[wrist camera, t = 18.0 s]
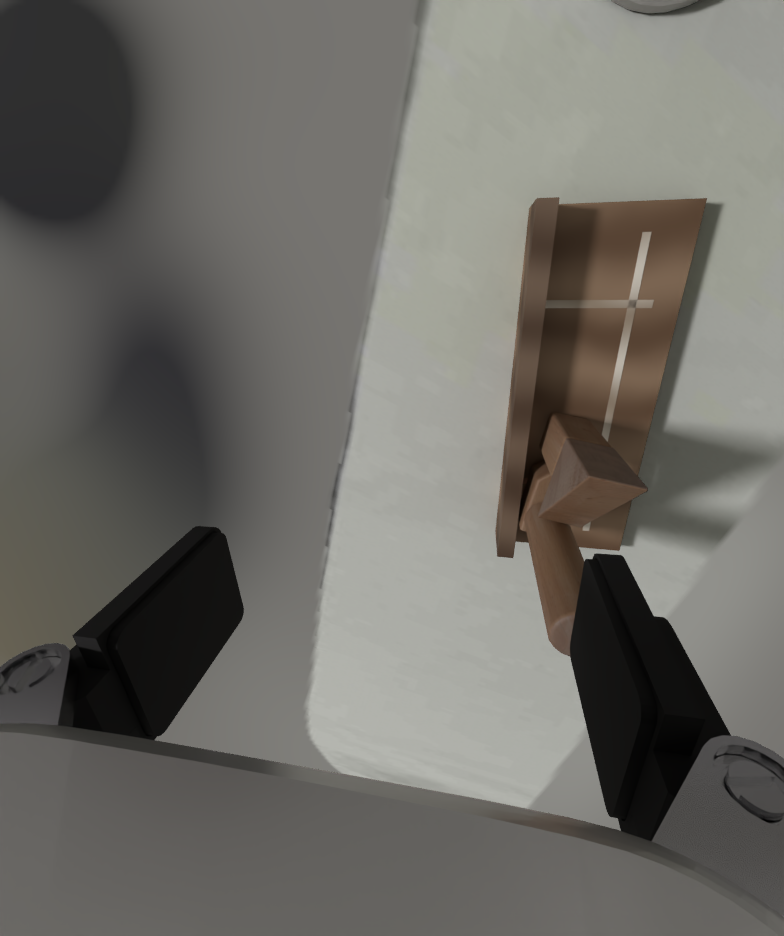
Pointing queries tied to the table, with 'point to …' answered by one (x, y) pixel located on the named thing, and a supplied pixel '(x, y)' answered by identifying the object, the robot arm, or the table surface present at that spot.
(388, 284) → the table surface
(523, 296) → the marking board
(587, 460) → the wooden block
